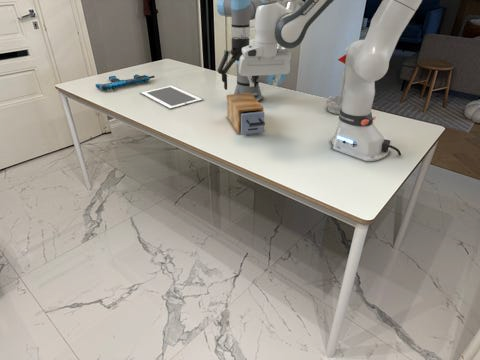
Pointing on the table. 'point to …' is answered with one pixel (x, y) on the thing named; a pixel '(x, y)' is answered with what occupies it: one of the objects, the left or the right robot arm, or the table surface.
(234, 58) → the left robot arm
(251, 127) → the drawer
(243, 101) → the cabinet
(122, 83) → the submachine gun
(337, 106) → the flag stand
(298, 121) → the table surface
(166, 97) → the tablet
